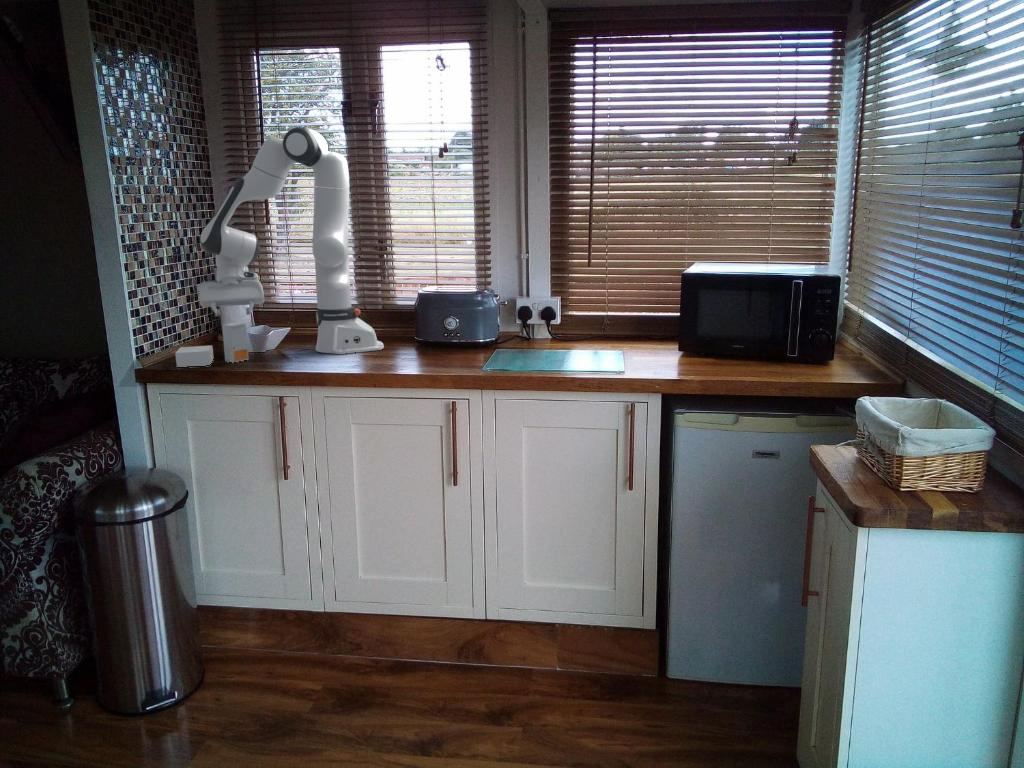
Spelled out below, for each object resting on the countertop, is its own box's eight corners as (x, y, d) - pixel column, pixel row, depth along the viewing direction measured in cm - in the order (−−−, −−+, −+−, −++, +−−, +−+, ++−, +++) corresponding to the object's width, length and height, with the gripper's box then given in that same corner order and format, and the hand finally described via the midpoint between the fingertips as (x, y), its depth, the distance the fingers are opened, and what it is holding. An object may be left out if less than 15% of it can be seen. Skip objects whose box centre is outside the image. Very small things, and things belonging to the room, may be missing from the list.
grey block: (213, 360, 266) (212, 345, 265) (210, 367, 257) (208, 351, 255) (182, 362, 264) (180, 347, 263) (177, 369, 255) (175, 353, 254)
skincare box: (233, 363, 260) (229, 325, 257) (225, 362, 262) (221, 324, 259) (249, 360, 264) (246, 323, 261) (241, 358, 267) (238, 321, 264)
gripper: (196, 276, 268) (197, 310, 262) (262, 273, 274) (265, 306, 268) (198, 288, 274) (200, 322, 267) (263, 285, 280) (266, 318, 273)
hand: (233, 314), depth 267 cm, fingers open, 8 cm apart
